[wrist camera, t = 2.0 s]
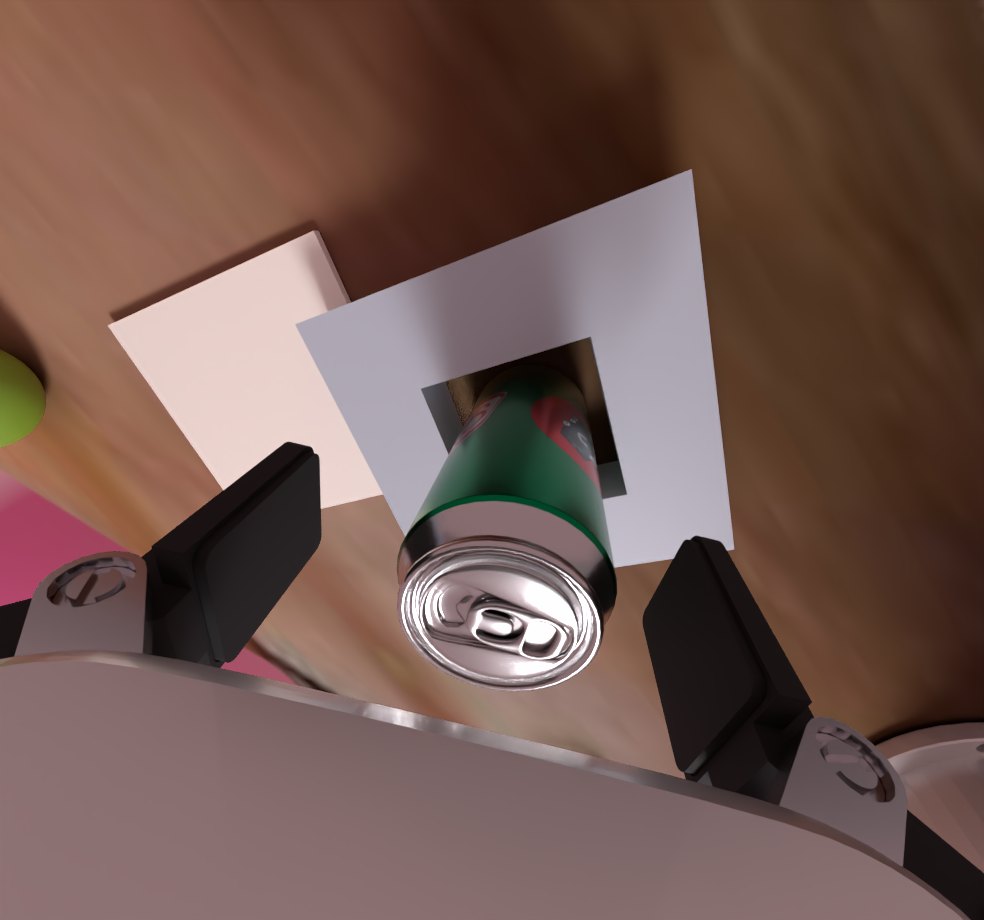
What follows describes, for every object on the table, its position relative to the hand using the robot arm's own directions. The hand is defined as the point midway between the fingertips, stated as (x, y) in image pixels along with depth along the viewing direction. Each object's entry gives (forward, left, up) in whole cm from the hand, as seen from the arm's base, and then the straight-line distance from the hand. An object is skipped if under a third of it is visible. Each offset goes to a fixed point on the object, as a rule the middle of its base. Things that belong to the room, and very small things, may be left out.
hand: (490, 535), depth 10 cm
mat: (+3, +12, -10) cm, 15 cm away
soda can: (-1, 0, -10) cm, 10 cm away
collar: (-1, 0, -10) cm, 10 cm away
